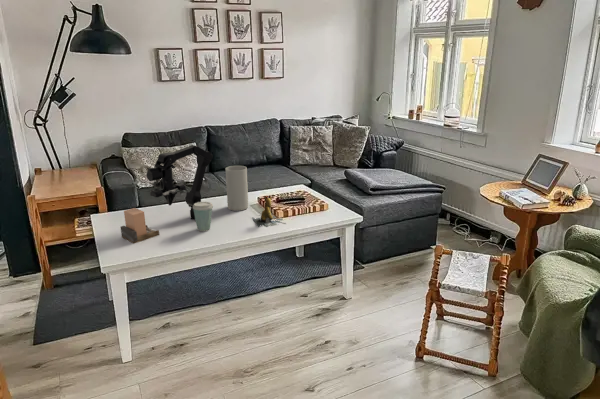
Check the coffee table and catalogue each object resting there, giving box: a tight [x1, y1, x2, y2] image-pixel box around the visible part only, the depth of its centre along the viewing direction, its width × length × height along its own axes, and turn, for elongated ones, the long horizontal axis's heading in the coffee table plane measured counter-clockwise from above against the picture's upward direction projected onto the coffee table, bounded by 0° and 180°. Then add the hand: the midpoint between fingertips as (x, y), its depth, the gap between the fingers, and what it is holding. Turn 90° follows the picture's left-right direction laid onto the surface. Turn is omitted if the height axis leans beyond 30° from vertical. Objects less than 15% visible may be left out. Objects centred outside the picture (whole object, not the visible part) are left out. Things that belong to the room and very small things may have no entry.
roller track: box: [120, 224, 160, 244], centre depth 233 cm, size 14×12×6 cm
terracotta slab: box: [123, 207, 147, 237], centre depth 230 cm, size 6×9×12 cm, turn 49°
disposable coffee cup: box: [193, 201, 214, 232], centre depth 240 cm, size 11×11×15 cm
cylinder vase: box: [225, 165, 249, 212], centre depth 271 cm, size 12×12×25 cm
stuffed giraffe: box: [251, 195, 287, 228], centre depth 253 cm, size 16×18×16 cm
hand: (169, 205), depth 243 cm, fingers closed
